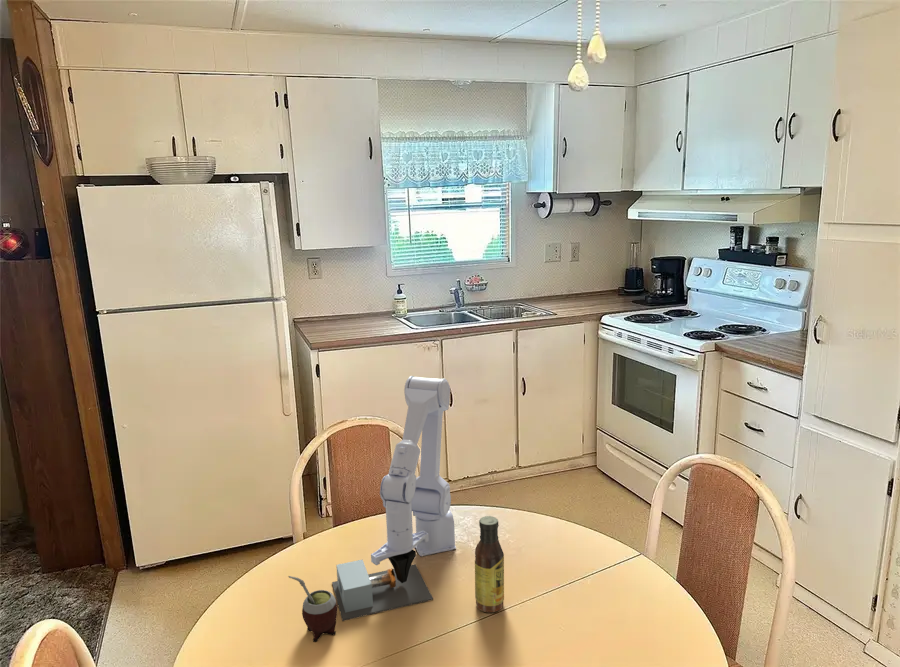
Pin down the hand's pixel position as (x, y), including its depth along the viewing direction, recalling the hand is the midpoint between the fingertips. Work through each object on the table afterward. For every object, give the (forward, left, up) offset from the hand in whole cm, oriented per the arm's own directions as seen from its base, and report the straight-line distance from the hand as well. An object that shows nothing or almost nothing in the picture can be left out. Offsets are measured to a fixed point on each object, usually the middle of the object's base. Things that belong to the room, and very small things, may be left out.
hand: (402, 580), depth 144 cm
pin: (+7, 0, -1) cm, 7 cm away
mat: (+5, 0, -2) cm, 5 cm away
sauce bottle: (-16, +13, -2) cm, 21 cm away
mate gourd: (+20, +9, -2) cm, 22 cm away
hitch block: (+11, 0, -2) cm, 11 cm away
